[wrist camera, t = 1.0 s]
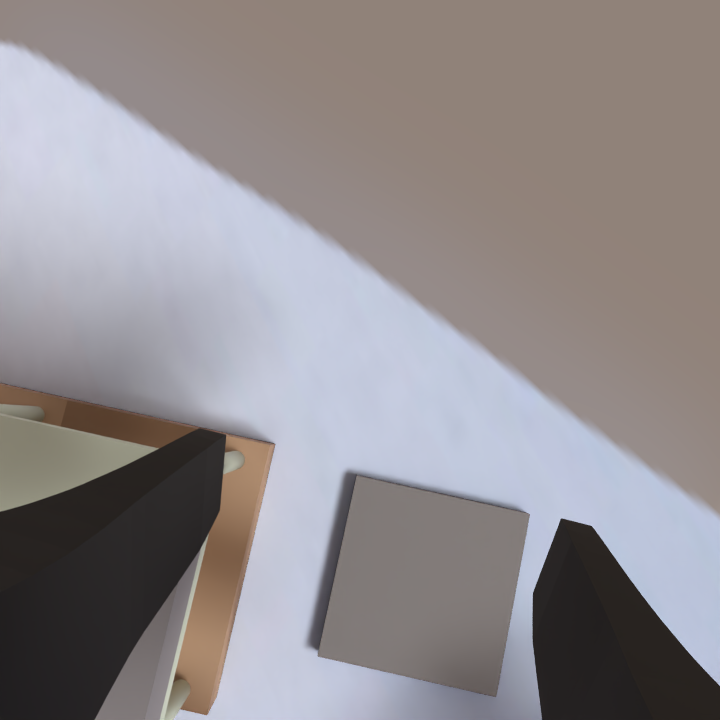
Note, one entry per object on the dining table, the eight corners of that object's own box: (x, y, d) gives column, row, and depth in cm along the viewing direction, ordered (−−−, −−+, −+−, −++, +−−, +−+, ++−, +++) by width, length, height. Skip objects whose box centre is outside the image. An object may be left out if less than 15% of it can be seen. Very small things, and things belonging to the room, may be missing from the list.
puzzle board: (216, 697, 24) (207, 715, 22) (-179, 606, 24) (-214, 618, 23) (275, 444, 25) (270, 445, 23) (-104, 360, 25) (-133, 355, 24)
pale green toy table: (194, 703, 22) (116, 836, 15) (-47, 647, 22) (-239, 753, 15) (253, 454, 23) (206, 467, 16) (22, 402, 23) (-128, 392, 16)
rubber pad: (493, 691, 24) (495, 696, 23) (318, 651, 24) (317, 656, 23) (526, 512, 25) (529, 514, 24) (356, 475, 25) (356, 476, 24)
